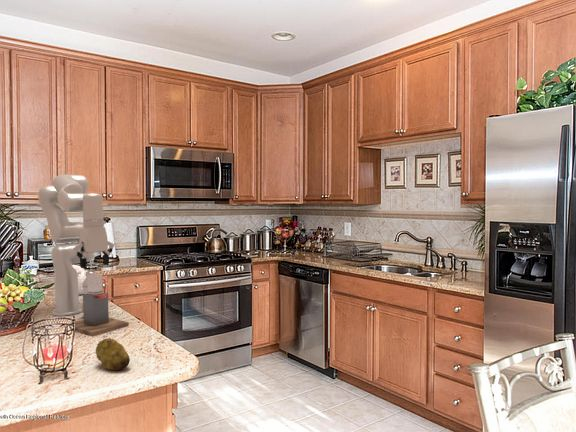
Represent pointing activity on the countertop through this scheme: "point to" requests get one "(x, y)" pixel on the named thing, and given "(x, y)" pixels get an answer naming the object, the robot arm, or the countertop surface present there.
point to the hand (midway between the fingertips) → (95, 266)
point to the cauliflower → (80, 278)
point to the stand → (97, 316)
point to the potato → (112, 354)
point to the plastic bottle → (85, 282)
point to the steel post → (95, 284)
